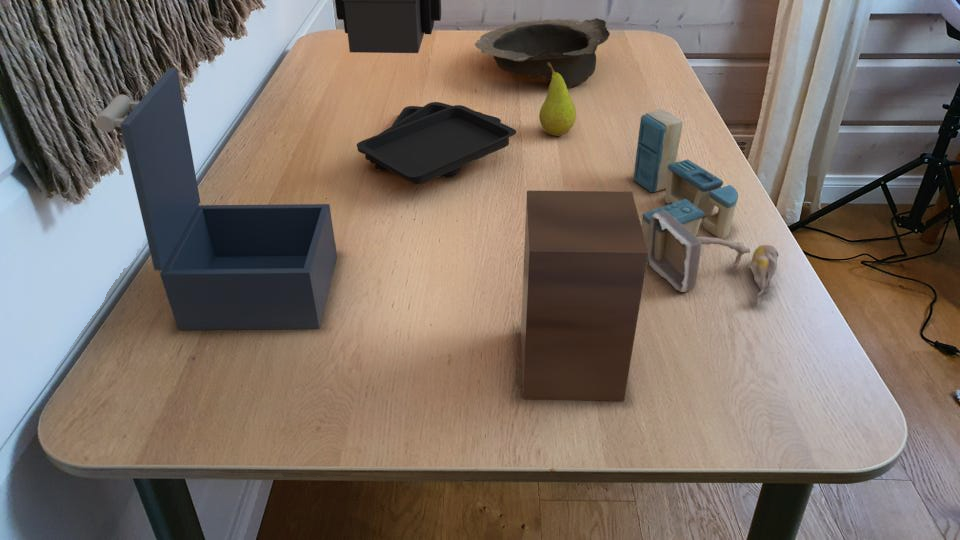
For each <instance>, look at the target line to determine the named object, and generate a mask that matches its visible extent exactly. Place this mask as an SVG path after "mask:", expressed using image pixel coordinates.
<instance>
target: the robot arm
mask: <svg viewBox="0 0 960 540" xmlns="http://www.w3.org/2000/svg"><path fill="white" fill-rule="evenodd" d="M334 3H335V4H334V5H335V13H336V18H337V20H338V21H339V20H341V21H343V29H344V33H345V34H348V32H347V23H346V14H345V5H344V2H343V1H342V0H334ZM421 18H422V33H424V35H432V33H433V29H434V25H435V22H441V20H442V0H421Z"/></svg>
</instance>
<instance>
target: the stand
mask: <svg viewBox="0 0 960 540" xmlns="http://www.w3.org/2000/svg"><path fill="white" fill-rule="evenodd" d="M525 200H526V202H525V223H524V224H525V225H524V248H523V249H524V250H523V273H522V274H523V275H522V299H521V300H522V301H521V304H522V305H521V321H520V323H521V324H520V326H521V327H520V342H521V343H520V344H521V345H520V347H521V382H522V383H521V384H522V385H521V386H522V399H523V400H550V401H551V400H553V401H555V400H557V401H558V400H559V401H607V402H608V401H610V402H612V401H613V402H625V399H626V392H627V385H628V381H629V374H630V368H631V361H632V355H633V349H634V343H635V339H636V338H635V337H636V330H637V324H638V319H639V313H640V307H641V301H642V295H643V288H644V283H645V278H646V277H645V275H646V270H647V264H648V259H647V258H648V249H647V245H646V242H645V238H644V234H643V230H642V227H641V223H642V222H641V220H640V216H639V212H638V208H637V204H636V201H635V197H634V193H633V191H617V190H616V191H615V190H614V191H613V190H612V191H610V190H608V191H606V190H605V191H604V190H529V189H528V190H526V197H525Z"/></svg>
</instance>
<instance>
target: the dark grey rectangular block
mask: <svg viewBox="0 0 960 540" xmlns="http://www.w3.org/2000/svg"><path fill="white" fill-rule="evenodd" d="M342 1H343V2H344V5H345V14H346V23H347V32H348V33H347V40H348V49H349V53H359V54H360V53H364V54H366V53H371V54H374V53H375V54H384V53H385V54H419V53H420V49H421V45H422V42H423V39H424V35H425V33H422V18H421V0H342Z"/></svg>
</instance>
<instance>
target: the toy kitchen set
mask: <svg viewBox="0 0 960 540" xmlns="http://www.w3.org/2000/svg"><path fill="white" fill-rule="evenodd" d="M683 124H684V123H683V120H682V119H681V118H679V117H678V116H676V115H674V114H672V113H671V112H669V111H667V110H665V109H663V108H661V109H660V108H659V109H657V110H653V111H650V112H646V113H645V114H642V115H641V117H640V123H639V128H638V129H639V130H638V137H637V145H636V154H635V161H634V170H633V178H632V179H633V181H634V182H635V183H637V184H639V185H640V186H641V187H643V188H644V189H645V190H647V191H649V193H656V192H659V191H663V190H665V193H664V202H665V203H666V204H667V205H664V206H661V207H657V208H655V209H652V210H649V211H646V212H644V213H643V214H642V215H641V217H642V218H641V222H640V223H641V227H642V230H643V234H644V238H645V242H646V245H647V249H648V235H649V226H650V221H651V217H652V215H653V214H655V213H657V212H660V211H667V212H668V213H669V214H670V215H672V216H673V217H674V218H675V219H676V220H678V221H679V222H680V223H681V224H682V225H683V226H685V227H686V228H687V229H688V230H689V231H690V232H691V233H693V234H694V235H695V236H696V237H697V236H698V232H699V229H700V226H701V223H702V220H703V218H704V220H703V225H702V228H703V229H704V230H706V231H707V232H708V233H710V234H712V235H713V236H714V237H715V238H719V239H723V240H725V239H726V238H727V237H728V235H729V234H730V233H731V228H732V224H733V221H734V215H735V211H736V207H737V203H738V199H739V193H738V191H737V189H736V188H735V187H734V186H733V185H731V184H727V185H725V186H723V185H724V181H723V180H722V179H720V177H718V176H716V175H714V174H712V173H711V172H710V171H708V170H706V169H704V168H703V167H701V166H699V165H698V164H697V163H694V162H693V161H691V160H689V159H684V160H679V161H677V158H678V154H679V153H678V152H679V147H680V142H681V135H682V129H683ZM715 207H716V208H718V210H717V212H716V213H714V214H713V212H714V209H715ZM712 214H713V215H712ZM655 229H656V231H655V248H654V257H655V259H657V260H661V259H662V258H663V255H664V252H665V243H666V235H667V230H668V229H666V228H665V229H664V230H662V228H661V224H660V223H659V224H657V225H656V227H655Z"/></svg>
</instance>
